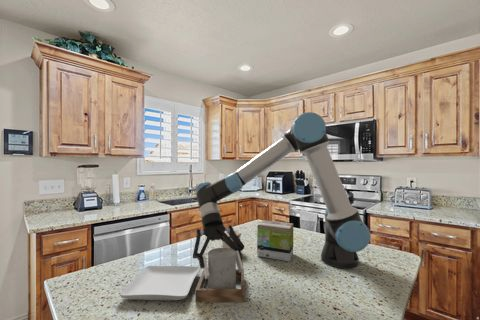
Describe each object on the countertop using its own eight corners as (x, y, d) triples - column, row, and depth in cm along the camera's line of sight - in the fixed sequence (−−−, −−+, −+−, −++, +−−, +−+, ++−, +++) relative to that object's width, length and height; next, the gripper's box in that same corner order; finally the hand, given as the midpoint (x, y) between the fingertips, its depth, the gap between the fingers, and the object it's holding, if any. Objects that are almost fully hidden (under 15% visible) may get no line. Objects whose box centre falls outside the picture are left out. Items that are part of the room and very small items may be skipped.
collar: (244, 278, 88) (244, 269, 89) (244, 302, 73) (244, 290, 74) (203, 278, 89) (203, 268, 89) (195, 301, 74) (195, 290, 74)
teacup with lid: (243, 254, 111) (243, 229, 112) (223, 256, 109) (223, 231, 109) (237, 246, 123) (237, 223, 123) (219, 247, 121) (219, 224, 121)
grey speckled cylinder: (239, 284, 84) (240, 249, 84) (229, 299, 75) (229, 259, 75) (215, 280, 87) (215, 246, 87) (202, 293, 78) (202, 255, 78)
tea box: (256, 257, 109) (256, 224, 109) (263, 249, 118) (263, 219, 118) (289, 262, 103) (289, 227, 103) (293, 254, 113) (293, 222, 113)
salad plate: (146, 273, 93) (146, 264, 93) (200, 274, 93) (201, 265, 93) (117, 305, 72) (117, 294, 72) (187, 307, 72) (187, 295, 72)
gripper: (236, 219, 100) (253, 272, 86) (179, 225, 91) (187, 285, 76) (241, 209, 95) (260, 262, 81) (181, 214, 86) (190, 276, 71)
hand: (224, 274), depth 79 cm, fingers open, 11 cm apart
